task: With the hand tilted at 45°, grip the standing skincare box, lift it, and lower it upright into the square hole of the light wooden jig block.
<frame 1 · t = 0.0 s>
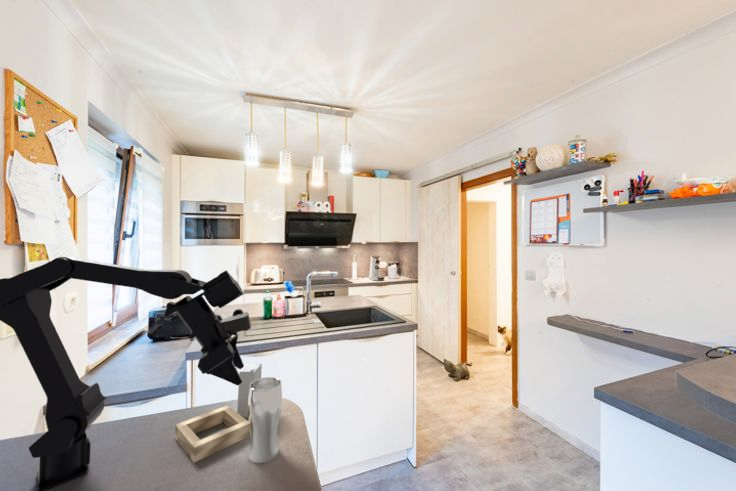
hand: (241, 375, 68), 15 cm above the countertop, tool tilted 35°, fingers open, 9 cm apart
jig: (212, 436, 69), on the countertop
skincare box: (249, 412, 80), on the countertop
beer glass: (263, 454, 64), on the countertop
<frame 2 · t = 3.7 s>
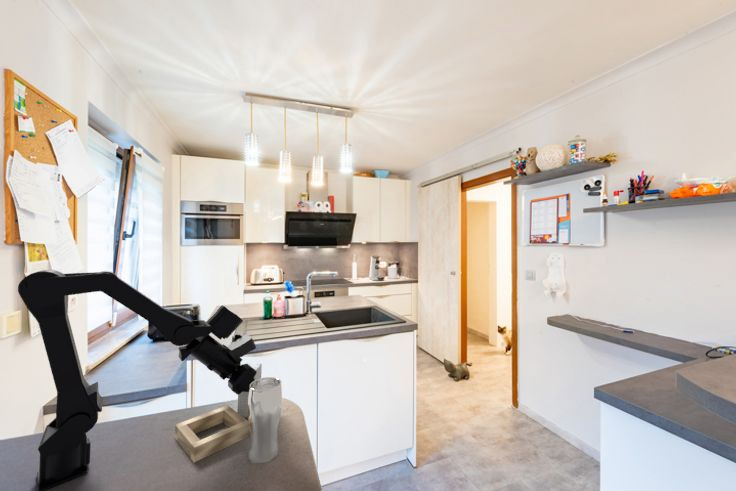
hand: (255, 385, 81), 7 cm above the countertop, tool tilted 45°, fingers closed on skincare box, 7 cm apart
skincare box: (249, 412, 80), on the countertop, touching gripper
everything else where it was.
when the fingers open (8 cm above the countertop, at t = 7.7 s): skincare box drops 1 cm, resting in jig.
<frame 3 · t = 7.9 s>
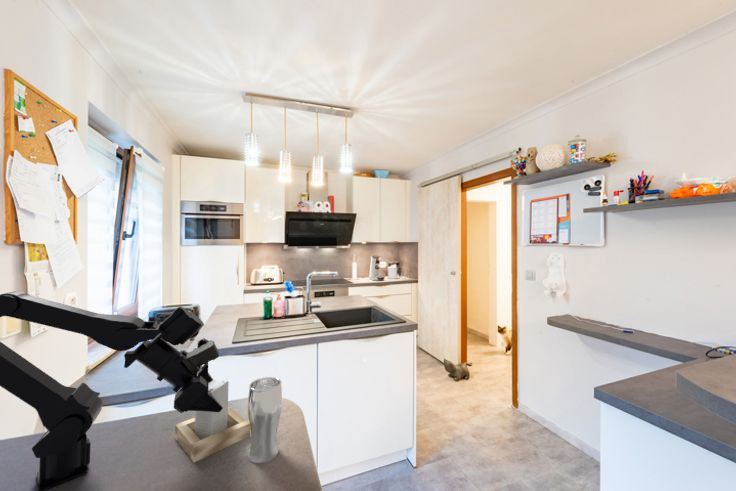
hand: (220, 400, 70), 8 cm above the countertop, tool tilted 45°, fingers open, 9 cm apart
skincare box: (211, 438, 69), resting in jig
everything else where it was.
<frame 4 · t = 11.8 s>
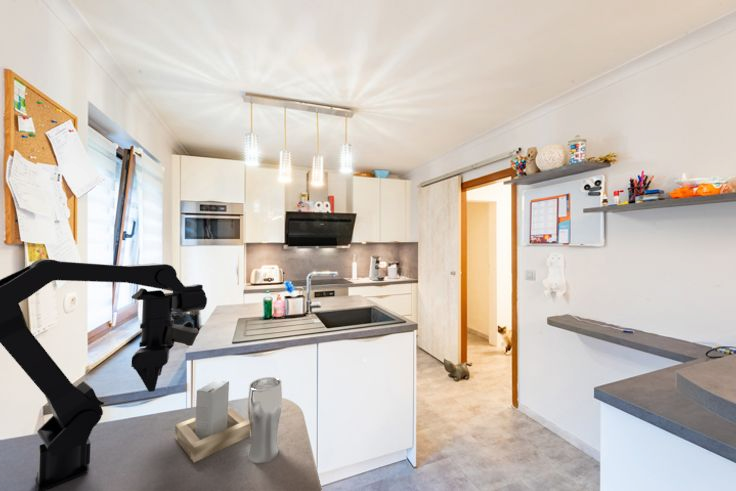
hand: (155, 383, 70), 12 cm above the countertop, tool pointing down, fingers open, 9 cm apart
nothing on the countertop moved.
at the end: skincare box 0.2 cm off-centre on the jig, point 0.0 cm above the jig's base; skincare box tilted 0°; the gripper is holding nothing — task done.
